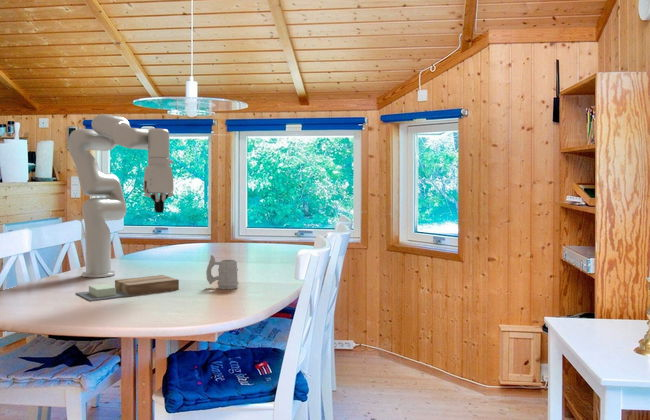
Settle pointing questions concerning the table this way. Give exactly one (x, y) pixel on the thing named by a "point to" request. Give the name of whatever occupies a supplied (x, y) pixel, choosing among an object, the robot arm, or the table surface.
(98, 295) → the tile
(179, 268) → the table surface
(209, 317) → the table surface
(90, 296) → the mat
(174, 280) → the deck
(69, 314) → the table surface
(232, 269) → the mug
